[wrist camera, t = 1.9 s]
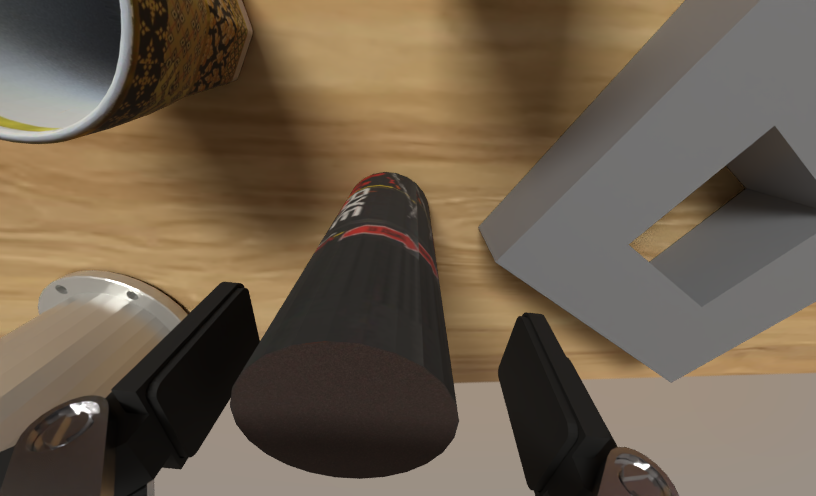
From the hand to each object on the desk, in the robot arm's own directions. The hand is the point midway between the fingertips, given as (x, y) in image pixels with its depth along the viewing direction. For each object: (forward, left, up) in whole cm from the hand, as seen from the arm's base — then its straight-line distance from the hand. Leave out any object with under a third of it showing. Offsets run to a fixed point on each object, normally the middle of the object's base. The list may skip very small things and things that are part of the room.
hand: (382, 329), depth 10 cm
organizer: (+11, -15, -12) cm, 22 cm away
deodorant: (-1, 0, -12) cm, 12 cm away
